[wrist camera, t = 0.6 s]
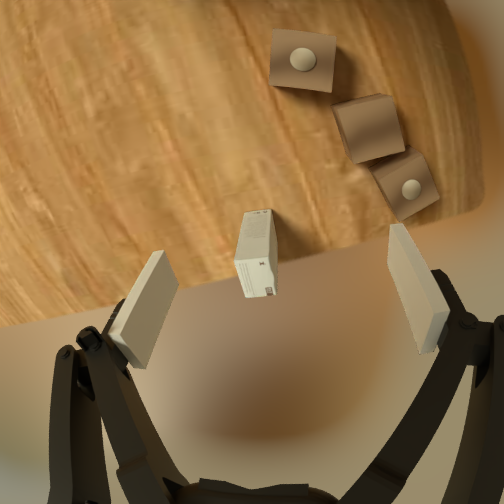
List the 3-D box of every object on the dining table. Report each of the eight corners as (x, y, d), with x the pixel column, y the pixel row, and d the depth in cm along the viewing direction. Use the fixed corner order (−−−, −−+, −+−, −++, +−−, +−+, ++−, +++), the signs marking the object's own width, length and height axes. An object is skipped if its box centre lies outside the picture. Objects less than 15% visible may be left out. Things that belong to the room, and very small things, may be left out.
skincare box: (243, 211, 43) (229, 259, 33) (273, 207, 42) (269, 254, 32) (251, 246, 46) (242, 299, 36) (280, 243, 45) (277, 296, 35)
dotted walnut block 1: (274, 34, 29) (272, 28, 24) (330, 41, 28) (336, 36, 24) (270, 84, 33) (268, 85, 28) (325, 91, 32) (331, 92, 28)
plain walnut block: (330, 105, 33) (337, 109, 29) (379, 93, 31) (391, 96, 27) (345, 153, 37) (353, 164, 33) (392, 141, 35) (405, 150, 31)
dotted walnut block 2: (368, 167, 37) (378, 180, 33) (408, 144, 34) (423, 154, 30) (388, 206, 40) (399, 222, 36) (425, 184, 37) (440, 199, 33)
